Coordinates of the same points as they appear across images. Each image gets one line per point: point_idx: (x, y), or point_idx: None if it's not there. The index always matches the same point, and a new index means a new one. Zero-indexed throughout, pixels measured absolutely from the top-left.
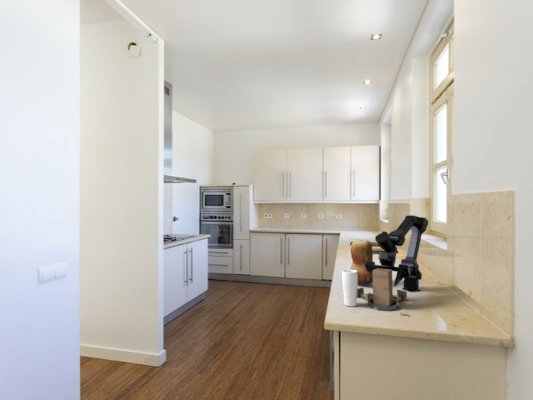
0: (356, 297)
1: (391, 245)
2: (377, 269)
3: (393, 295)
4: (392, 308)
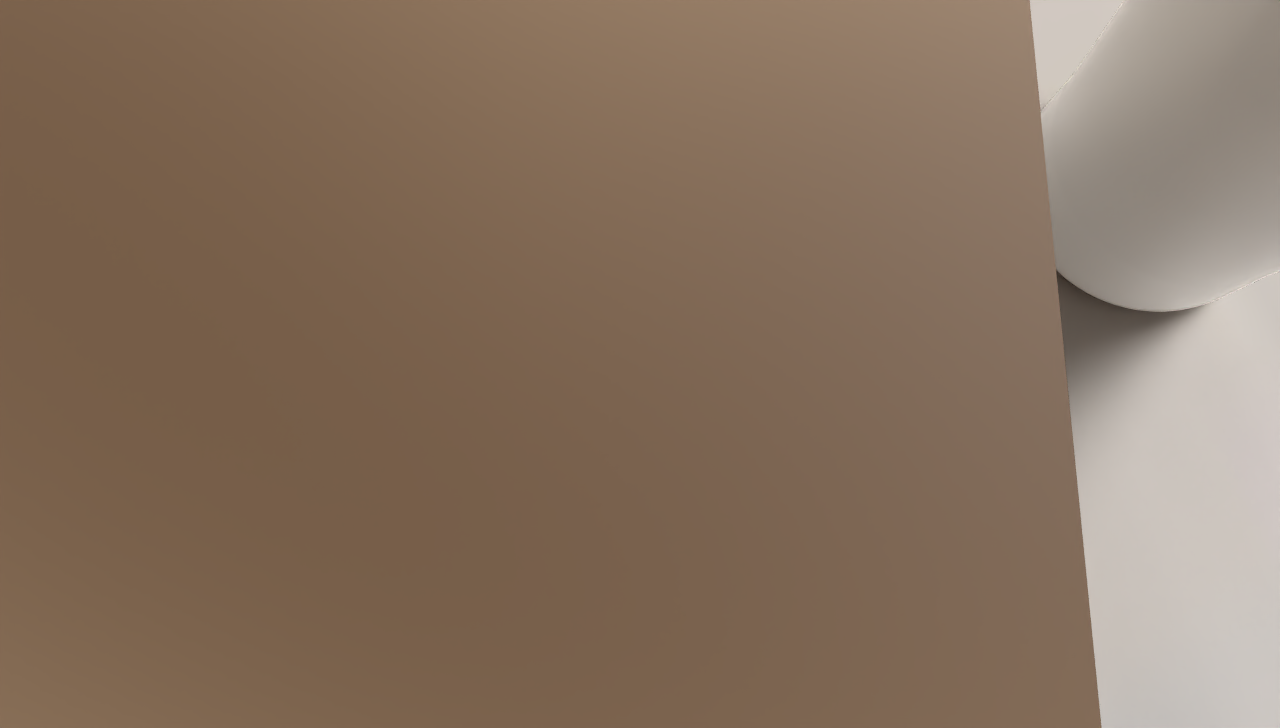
0: (1083, 130)
1: None
2: (790, 440)
3: None
4: None
